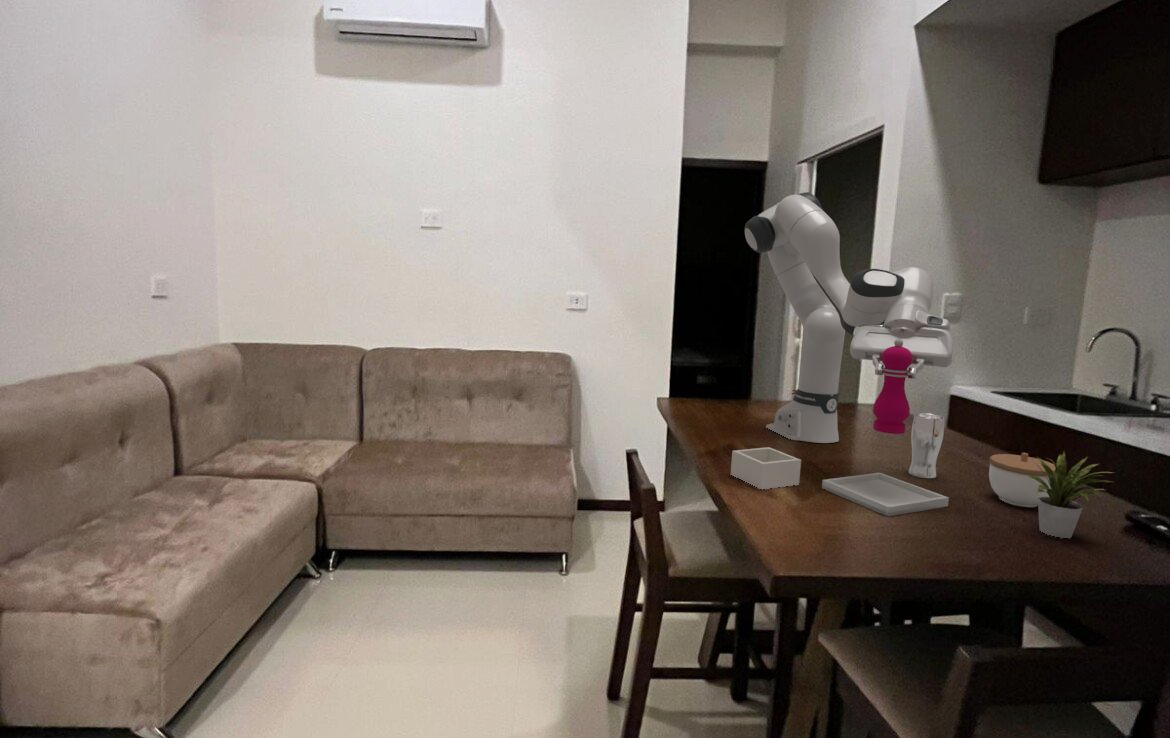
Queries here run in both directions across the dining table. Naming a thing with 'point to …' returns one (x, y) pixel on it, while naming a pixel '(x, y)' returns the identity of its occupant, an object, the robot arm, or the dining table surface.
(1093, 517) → the dining table surface
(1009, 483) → the lidded bowl
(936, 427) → the beer glass
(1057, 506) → the house plant
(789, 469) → the open rectangular box
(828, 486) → the tray
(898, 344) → the pepper mill
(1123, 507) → the dining table surface
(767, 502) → the dining table surface
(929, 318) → the robot arm
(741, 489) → the dining table surface
